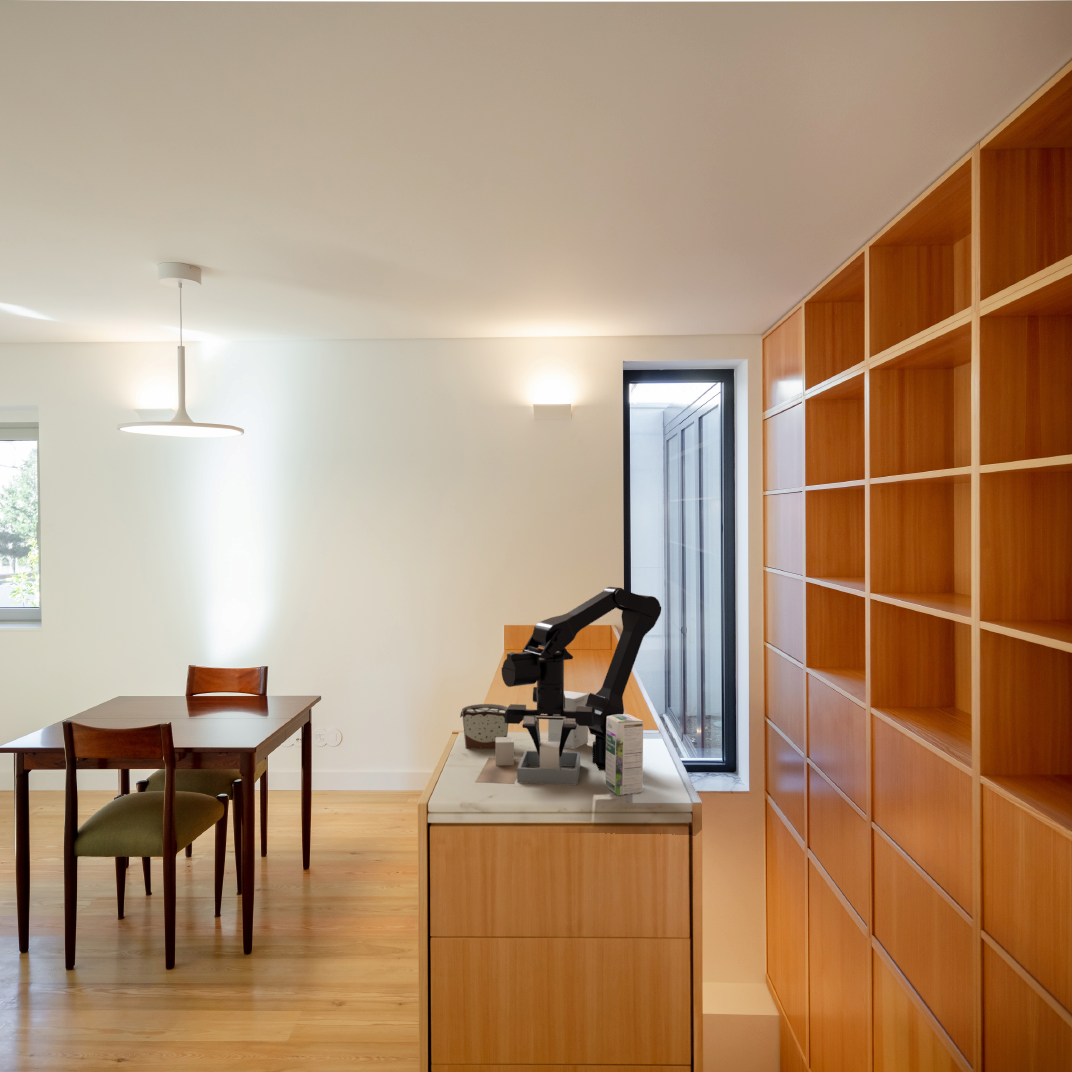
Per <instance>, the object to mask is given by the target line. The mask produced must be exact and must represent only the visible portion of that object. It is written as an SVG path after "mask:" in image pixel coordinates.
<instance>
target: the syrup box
mask: <svg viewBox="0 0 1072 1072" xmlns="http://www.w3.org/2000/svg"><path fill="white" fill-rule="evenodd" d="M643 748H644V720H643V719H639V718H637V717H636V716H634V715H631V714H627V713H626V714H625V713H624V714H617V715H611V716H607V722H606V769H605V779H604V780H605V781H604V783H605V787H606V789H609V790H610V791H611V792H612V793H614V794H615V795H617V796H618V795H621V796H624V795H623V794H627V795H632V794H631V793H634V794H638V793H642V792H643V771H644V768H643V765H644V763H643V761H644V760H643V759H644V757H643V756H644V749H643Z"/></svg>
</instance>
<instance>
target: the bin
mask: <svg viewBox="0 0 1072 1072" xmlns="http://www.w3.org/2000/svg"><path fill="white" fill-rule="evenodd" d="M520 759H521V761H520V763H519V766H518V768H517V778H516V780H517V781H516V782H517V783H521V784H522V783H524V784H525V783H526V784H544V785H545V784H549V785H568V786H578V782H579V777H580V771H581V770H580V769H581V752H578V751H576V752H575V751H563V752H562V755H561V757H560V767H562V766H564V767H574V769H567V768H566V769H565V768H564V769H562V768H560V769H544V768H540V767H527V766H528V765H534V766H535V765H537V766H540V756H539V755H538V752H537V750H529V749H528V750H527V749H526V750H524V751H523V754H522V756H521V758H520Z"/></svg>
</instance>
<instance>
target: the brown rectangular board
mask: <svg viewBox="0 0 1072 1072" xmlns="http://www.w3.org/2000/svg"><path fill="white" fill-rule="evenodd" d="M520 761H521V758H515V757H514V765H495V757H488V758H487V760H486V762H485V764H484V766H483V767H482V769H481V771H480V772H479V775H478V776H477V778H476V780H475V781H474V782H475V783H489V784H508V785H509V784H511V785H512V784H513V785H515V783H516V782H517V781H516V780H517V768H518V766H519V763H520Z"/></svg>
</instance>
